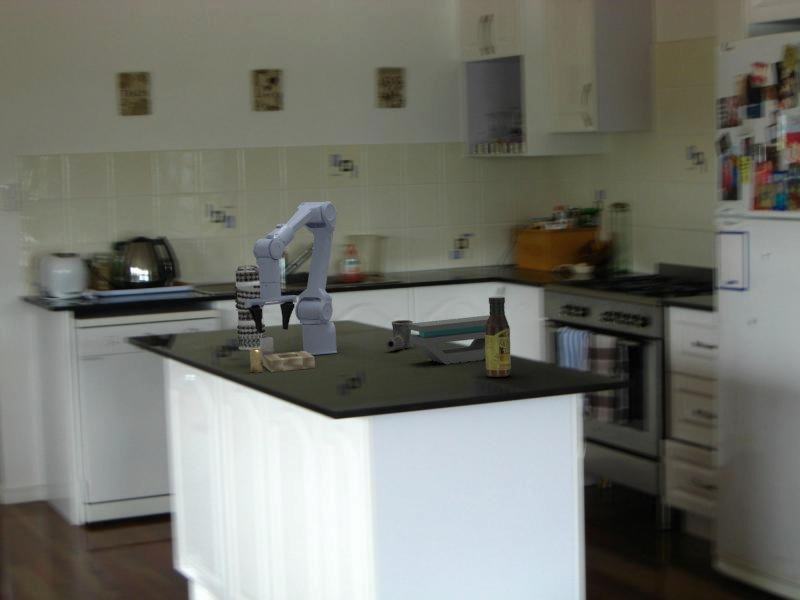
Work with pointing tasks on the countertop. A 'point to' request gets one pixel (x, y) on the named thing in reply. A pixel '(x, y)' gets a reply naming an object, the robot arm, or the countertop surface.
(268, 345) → the square bit
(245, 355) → the countertop surface
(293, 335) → the countertop surface
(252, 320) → the decorative candle
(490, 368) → the sauce bottle
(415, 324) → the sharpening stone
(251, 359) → the cylinder
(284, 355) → the socket block
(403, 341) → the pipe
